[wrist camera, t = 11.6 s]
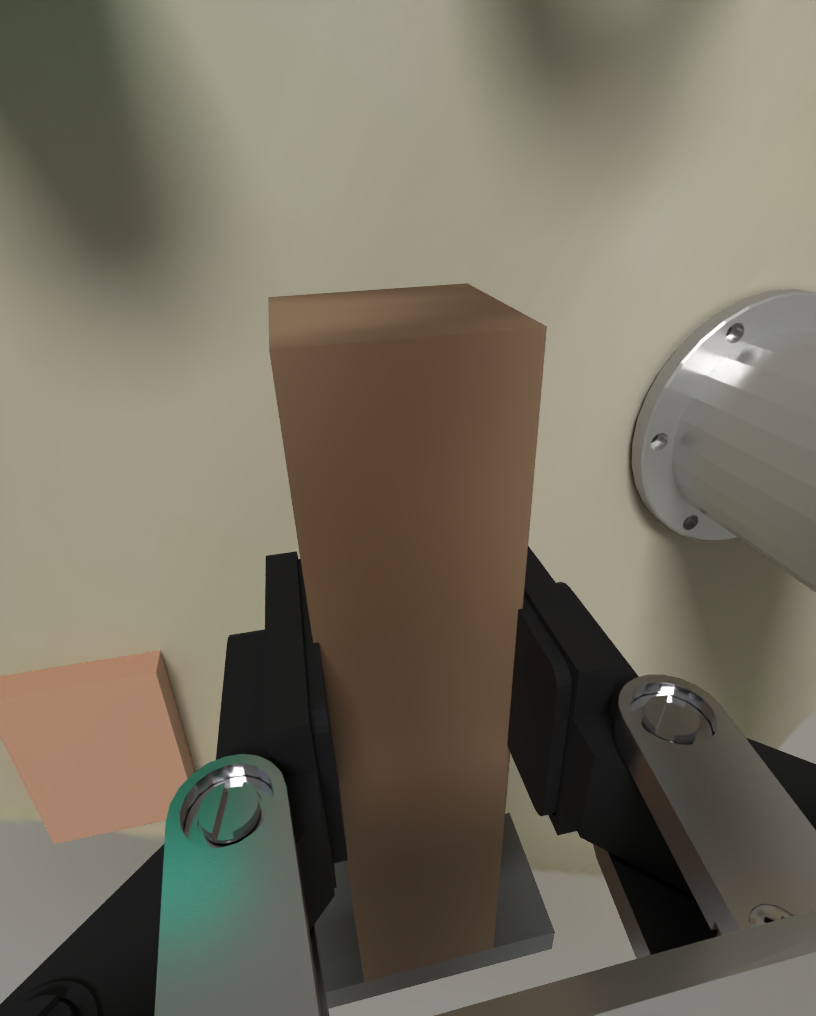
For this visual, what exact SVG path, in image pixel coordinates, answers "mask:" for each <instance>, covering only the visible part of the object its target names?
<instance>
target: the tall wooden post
mask: <svg viewBox="0 0 816 1016" xmlns="http://www.w3.org/2000/svg"><path fill="white" fill-rule="evenodd" d="M546 329H547V326H545V325H543V324H541V323H539V322H537V321H536V320H534V319H532V318H530V317H528V316H526V315H525V314H523V313H521V312H519V311H517V310H515V309H513V308H512V307H510V306H508V305H506V304H504V303H502V302H500V301H499V300H497V299H495V298H493V297H491V296H489V295H488V294H486V293H484V292H482V291H480V290H478V289H476V288H475V287H473V286H471V285H469V284H452V285H438V286H424V287H409V288H395V289H381V290H366V291H352V292H337V293H323V294H309V295H294V296H280V297H269V351H270V358H271V365H272V371H273V378H274V385H275V391H276V398H277V405H278V411H279V418H280V425H281V431H282V438H283V445H284V451H285V458H286V465H287V471H288V478H289V485H290V491H291V498H292V505H293V511H294V518H295V525H296V531H297V538H298V545H299V551H300V558H301V565H302V571H303V578H304V585H305V591H306V598H307V605H308V611H309V618H310V625H311V631H312V638H313V643H317V642H319V647H320V654H321V661H322V668H323V675H324V682H325V689H326V696H327V703H328V710H329V717H330V724H331V731H332V738H333V745H334V752H335V759H336V766H337V773H338V780H339V788H340V797H341V805H342V814H343V822H344V830H345V839H346V847H347V856H348V861H344V862H339V863H335V864H334V866H335V876H336V886H337V888H334V892H335V896H334V897H333V899H332V900H331V902H330V903H329V905H328V906H327V907H326V909H325V910H324V912H323V913H322V914H321V916H320V917H319V919H318V920H317V921H316V923H315V927H316V934H317V940H318V946H319V953H320V959H321V966H322V972H323V979H324V985H325V991H326V998H327V1004H328V1009H329V1008H332V1007H336V1006H340V1005H343V1004H348V1003H351V1002H355V1001H358V1000H362V999H366V998H370V997H373V996H377V995H381V994H385V993H388V992H392V991H396V990H400V989H403V988H407V987H411V986H415V985H418V984H422V983H426V982H429V981H433V980H437V979H440V978H444V977H448V976H452V975H455V974H459V973H463V972H467V971H470V970H474V969H478V968H482V967H485V966H489V965H493V964H496V963H500V962H504V961H508V960H511V959H515V958H518V957H522V956H526V955H530V954H534V953H537V952H541V951H545V950H549V949H551V948H552V943H553V938H554V933H555V932H554V929H553V927H552V924H551V921H550V919H549V916H548V913H547V911H546V908H545V905H544V903H543V900H542V898H541V895H540V892H539V890H538V887H537V885H536V882H535V879H534V877H533V874H532V871H531V869H530V866H529V863H528V861H527V858H526V855H525V853H524V850H523V848H522V845H521V842H520V840H519V837H518V834H517V832H516V829H515V827H514V824H513V821H512V819H511V816H510V813H507V814H505V807H506V796H507V784H508V772H509V761H510V750H509V748H508V746H507V741H508V729H509V717H510V704H511V692H512V680H513V667H514V655H515V643H516V630H517V618H518V609H522V608H523V597H524V586H525V574H526V562H527V551H528V539H529V527H530V516H531V504H532V492H533V481H534V469H535V457H536V446H537V434H538V422H539V411H540V399H541V387H542V376H543V364H544V352H545V341H546Z"/></svg>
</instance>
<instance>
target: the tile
mask: <svg viewBox="0 0 816 1016" xmlns="http://www.w3.org/2000/svg"><path fill="white" fill-rule="evenodd" d="M0 737H1V739H2V741H3V743H4V745H5V747H6V749H7V751H8V753H9V755H10V757H11V759H12V761H13V763H14V765H15V767H16V769H17V771H18V773H19V775H20V777H21V779H22V781H23V783H24V785H25V787H26V789H27V791H28V793H29V795H30V797H31V799H32V801H33V803H34V805H35V807H36V809H37V811H38V813H39V815H40V817H41V819H42V821H43V823H44V825H45V827H46V829H47V831H48V833H49V835H50V837H51V839H52V841H53V843H54V844H56V843H61V842H65V841H70V840H75V839H80V838H84V837H89V836H94V835H98V834H103V833H108V832H112V831H117V830H122V829H126V828H131V827H136V826H140V825H145V824H150V823H154V822H159V821H164V820H166V819H167V814H168V810H169V806H170V803H171V801H172V799H173V798H174V796H175V794H176V792H177V791H178V789H179V787H180V786H181V785H182V784H183V783H184V782H185V781H186V780H187V779H188V778H189V777H190V776H191V775H192V774H193V773H194V772H195V770H194V767H193V763H192V760H191V756H190V753H189V749H188V746H187V742H186V739H185V735H184V732H183V728H182V725H181V721H180V717H179V714H178V710H177V707H176V703H175V700H174V696H173V693H172V689H171V686H170V682H169V679H168V675H167V672H166V668H165V665H164V661H163V658H162V654H161V650H160V651H154V652H148V653H142V654H135V655H129V656H123V657H117V658H111V659H104V660H98V661H92V662H86V663H80V664H73V665H67V666H61V667H55V668H49V669H42V670H36V671H30V672H24V673H18V674H12V675H5V676H0Z"/></svg>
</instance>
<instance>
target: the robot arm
mask: <svg viewBox="0 0 816 1016" xmlns="http://www.w3.org/2000/svg"><path fill="white" fill-rule="evenodd" d="M632 469H633V475H634V480H635V485H636V488H637V490H638V492H639V495H640V497H641V499H642V501H643V503H644V504H645V505H646V507H647V508H648V509H649V510H650V512H651V513H652V514H653V515H654V516H655V517H656V518H658V519H659V520H660V521H661V522H663V523H664V524H665V525H666V526H667V527H668V528H670V529H672V530H673V531H675V532H677V533H678V534H680V535H683V536H686V537H690V538H694V539H698V540H709V541H721V540H727V539H733V538H739V539H740V540H742V541H743V542H744V543H746V544H747V545H749V546H750V547H752V548H753V549H754V550H756V551H757V552H759V553H760V554H762V555H763V556H764V557H766V558H767V559H769V560H770V561H772V562H773V563H774V564H776V565H777V566H779V567H780V568H781V569H783V570H784V571H786V572H787V573H789V574H790V575H791V576H793V577H794V578H796V579H797V580H799V581H800V582H801V583H803V584H804V585H806V586H807V587H809V588H810V589H811V590H813V591H814V592H816V292H810V291H803V290H797V289H789V290H774V291H768V292H765V293H762V294H758V295H755V296H751V297H748V298H745V299H743V300H741V301H739V302H737V303H735V304H733V305H732V306H730V307H728V308H726V309H724V310H722V311H721V312H719V313H718V314H716V315H715V316H714V317H712V318H711V319H709V320H708V321H707V322H705V323H704V324H703V325H701V326H700V327H699V328H698V329H697V330H696V331H695V332H694V333H693V334H691V335H690V336H689V337H688V338H687V339H686V340H685V341H684V342H683V343H682V344H681V345H680V346H679V347H678V349H677V350H676V351H675V352H674V354H673V355H672V356H671V358H670V359H669V360H668V361H667V363H666V364H665V365H664V367H663V368H662V369H661V371H660V372H659V374H658V376H657V378H656V380H655V381H654V383H653V385H652V387H651V388H650V390H649V392H648V394H647V396H646V398H645V401H644V404H643V406H642V409H641V411H640V414H639V416H638V419H637V424H636V429H635V433H634V438H633V443H632ZM507 746H508V748H509V750H510V753H511V755H512V757H513V760H514V762H515V764H516V766H517V769H518V771H519V773H520V776H521V778H522V780H523V783H524V785H525V787H526V789H527V792H528V794H529V796H530V799H531V801H532V803H533V806H534V808H535V810H536V812H537V813H538V814H539V815H540V816H544V815H549V817H550V820H551V822H552V824H553V826H554V828H555V831H556V833H557V835H561V834H565V833H570V832H574V831H577V832H578V834H579V836H580V837H581V838H583V839H585V840H587V841H589V842H591V843H592V844H593V845H594V849H595V854H596V857H597V860H598V862H599V865H600V867H601V870H602V872H603V875H604V878H605V880H606V883H607V885H608V888H609V890H610V893H611V895H612V898H613V900H614V903H615V905H616V908H617V910H618V913H619V915H620V918H621V920H622V923H623V925H624V928H625V930H626V933H627V935H628V938H629V941H630V943H631V946H632V948H633V951H634V953H635V956H636V958H637V959H635V960H632V961H628V962H624V963H621V964H618V965H614V966H610V967H606V968H603V969H600V970H596V971H592V972H588V973H585V974H581V975H578V976H574V977H571V978H567V979H563V980H560V981H557V982H553V983H549V984H546V985H542V986H538V987H535V988H532V989H528V990H524V991H521V992H517V993H514V994H510V995H506V996H503V997H499V998H496V999H492V1000H488V1001H485V1002H482V1003H478V1004H474V1005H471V1006H467V1007H463V1008H460V1009H456V1010H453V1011H450V1012H446V1013H442V1014H439V1015H436V1016H816V764H814V763H811V762H808V761H806V760H803V759H800V758H798V757H795V756H793V755H790V754H787V753H785V752H782V751H779V750H777V749H774V748H772V747H769V746H766V745H764V744H761V743H758V742H756V741H753V740H750V739H748V738H745V736H744V735H743V734H742V733H741V731H740V730H739V729H738V727H737V726H736V725H735V723H734V722H733V721H732V719H731V718H730V717H729V715H728V714H727V713H726V711H725V710H724V709H723V708H722V706H721V705H720V704H719V703H718V702H717V701H716V700H715V699H714V698H713V697H712V696H711V695H710V694H709V693H707V692H706V691H704V690H703V689H701V688H700V687H698V686H697V685H695V684H692V683H690V682H687V681H685V680H683V679H680V678H676V677H671V676H667V675H645V676H641V677H639V676H638V675H637V674H636V673H635V671H634V670H633V669H632V667H631V666H630V665H629V663H628V662H627V661H626V660H625V658H624V657H623V656H622V654H621V653H620V652H619V651H618V649H617V648H616V647H615V645H614V644H613V643H612V641H611V640H610V639H609V638H608V636H607V635H606V634H605V632H604V631H603V630H602V629H601V627H600V626H599V625H598V623H597V622H596V621H595V619H594V618H593V617H592V616H591V614H590V613H589V612H588V610H587V609H586V608H585V606H584V605H583V604H582V603H581V601H580V600H579V599H578V597H577V596H576V595H575V594H574V592H573V591H572V590H571V588H570V587H569V586H568V585H567V584H566V583H562V582H558V583H556V582H555V581H554V580H553V578H552V577H551V576H550V574H549V573H548V572H547V570H546V569H545V568H544V566H543V565H542V564H541V562H540V561H539V560H538V558H537V557H536V556H535V554H534V553H533V552H532V550H531V549H530V548H529V546H528V551H527V562H526V574H525V586H524V597H523V608H522V609H518V618H517V630H516V643H515V655H514V667H513V680H512V692H511V704H510V717H509V729H508V741H507ZM344 861H348V856H347V847H346V839H345V830H344V822H343V814H342V805H341V797H340V788H339V780H338V773H337V766H336V759H335V752H334V745H333V738H332V731H331V724H330V717H329V710H328V703H327V696H326V689H325V682H324V675H323V668H322V661H321V654H320V647H319V642H317V643H313V638H312V631H311V625H310V618H309V611H308V605H307V598H306V591H305V585H304V578H303V571H302V565H301V559H298V556H297V552H290V553H283V554H276V555H268V556H266V588H265V630H259V631H253V632H247V633H240V634H234V635H230V636H229V637H228V642H227V650H226V660H225V671H224V681H223V692H222V702H221V713H220V723H219V734H218V744H217V754H216V760H215V761H213V762H210V763H208V764H206V765H205V766H203V767H202V768H200V769H199V770H197V771H196V772H194V773H193V774H192V775H191V776H190V777H189V778H188V779H187V780H186V781H185V782H184V783H183V784H182V785H181V786H180V787H179V789H178V791H177V792H176V794H175V796H174V798H173V799H172V801H171V803H170V806H169V810H168V814H167V819H166V829H165V844H164V845H163V846H162V847H161V848H160V849H158V850H157V851H156V852H155V854H153V855H152V856H151V857H150V858H149V860H147V861H146V862H145V863H144V864H143V865H142V866H141V867H140V868H139V869H138V870H137V871H136V872H135V873H134V874H133V875H132V876H131V877H130V878H129V879H128V880H127V881H126V882H125V883H124V884H123V885H122V886H121V887H120V888H119V889H118V890H117V891H116V892H115V893H114V894H113V895H112V896H111V897H110V898H108V899H107V900H106V901H105V903H104V904H102V905H101V906H100V907H99V908H98V909H97V910H96V911H95V912H94V913H93V914H92V915H91V916H90V917H89V918H88V919H87V920H86V921H85V922H84V923H83V924H82V925H81V926H80V927H79V928H78V929H77V930H76V931H75V932H74V933H73V934H72V935H71V936H70V937H69V938H68V939H67V940H66V941H65V942H64V943H62V945H60V947H58V948H57V949H56V950H55V951H54V952H53V953H52V954H51V955H50V956H49V957H48V958H47V959H46V960H45V961H44V962H43V963H42V964H41V965H40V966H39V967H38V968H37V969H36V970H35V971H34V972H33V973H32V974H31V975H30V976H29V977H28V978H27V979H26V980H25V981H24V982H23V983H22V984H21V985H20V986H19V987H18V988H17V989H16V990H15V991H14V992H12V994H10V995H9V997H7V998H6V999H5V1000H4V1001H3V1002H2V1003H1V1004H0V1016H329V1011H328V1004H327V998H326V991H325V985H324V979H323V972H322V966H321V959H320V953H319V946H318V940H317V934H316V927H315V923H316V921H317V920H318V919H319V917H320V916H321V914H322V913H323V912H324V910H325V909H326V907H327V906H328V905H329V903H330V902H331V900H332V899H333V897H334V896H335V892H334V888H337V886H336V876H335V866H334V864H335V863H339V862H344Z"/></svg>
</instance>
